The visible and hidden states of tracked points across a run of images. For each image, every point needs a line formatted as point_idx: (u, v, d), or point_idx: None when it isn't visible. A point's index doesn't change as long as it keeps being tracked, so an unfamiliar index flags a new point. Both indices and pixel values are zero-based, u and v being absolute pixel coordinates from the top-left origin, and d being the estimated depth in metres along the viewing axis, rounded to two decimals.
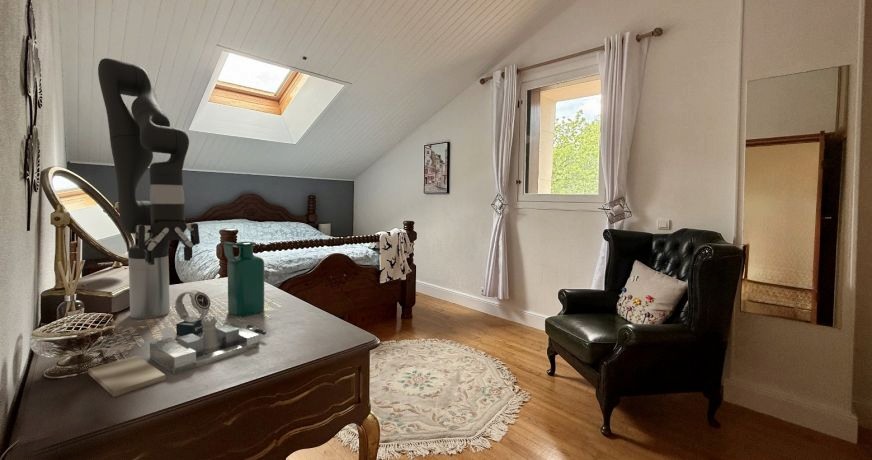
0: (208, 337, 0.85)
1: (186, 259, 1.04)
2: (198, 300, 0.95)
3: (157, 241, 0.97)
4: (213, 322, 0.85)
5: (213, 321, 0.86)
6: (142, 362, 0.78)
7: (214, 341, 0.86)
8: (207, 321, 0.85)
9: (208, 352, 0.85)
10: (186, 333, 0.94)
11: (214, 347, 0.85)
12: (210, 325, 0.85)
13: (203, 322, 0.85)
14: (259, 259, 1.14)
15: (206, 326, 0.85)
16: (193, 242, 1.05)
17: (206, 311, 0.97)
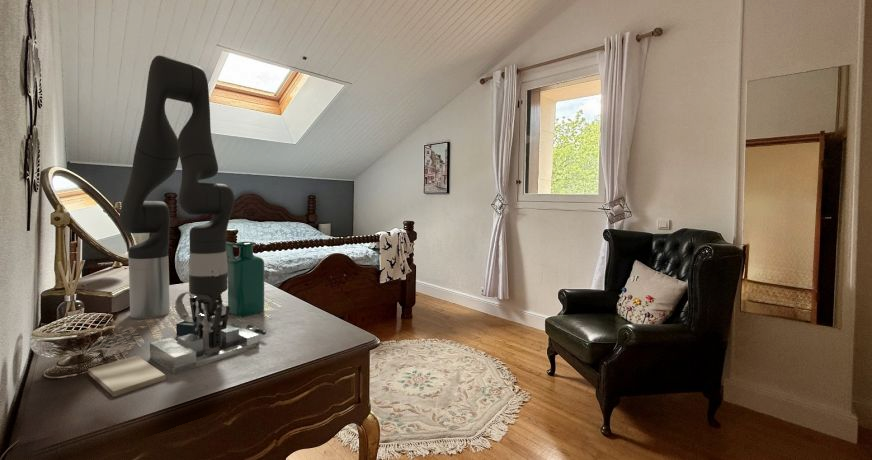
0: (208, 337, 0.85)
1: None
2: None
3: None
4: (213, 322, 0.85)
5: (213, 321, 0.86)
6: (142, 362, 0.78)
7: None
8: None
9: (208, 352, 0.85)
10: (186, 333, 0.94)
11: None
12: None
13: (203, 322, 0.85)
14: (259, 259, 1.14)
15: (206, 326, 0.85)
16: None
17: None
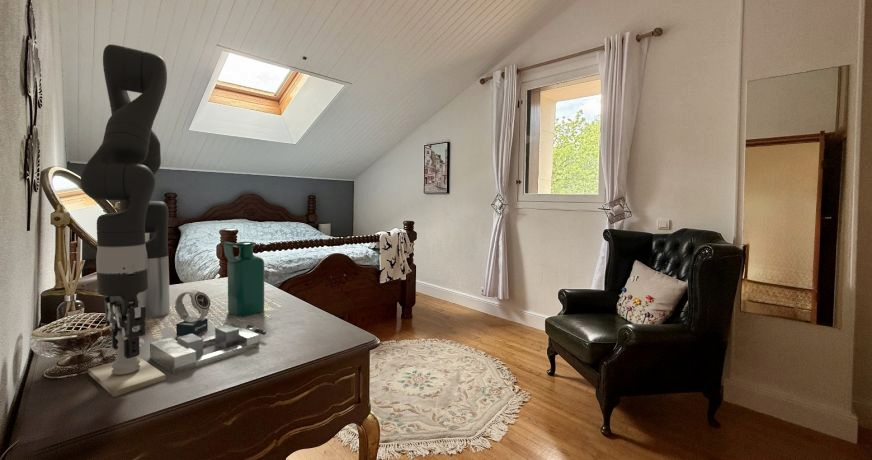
0: None
1: None
2: (198, 300, 0.95)
3: None
4: None
5: None
6: (142, 362, 0.78)
7: (131, 358, 0.73)
8: (122, 335, 0.72)
9: (122, 372, 0.72)
10: (186, 333, 0.94)
11: (130, 366, 0.73)
12: None
13: (117, 336, 0.72)
14: (259, 259, 1.14)
15: (121, 341, 0.72)
16: None
17: (206, 311, 0.97)
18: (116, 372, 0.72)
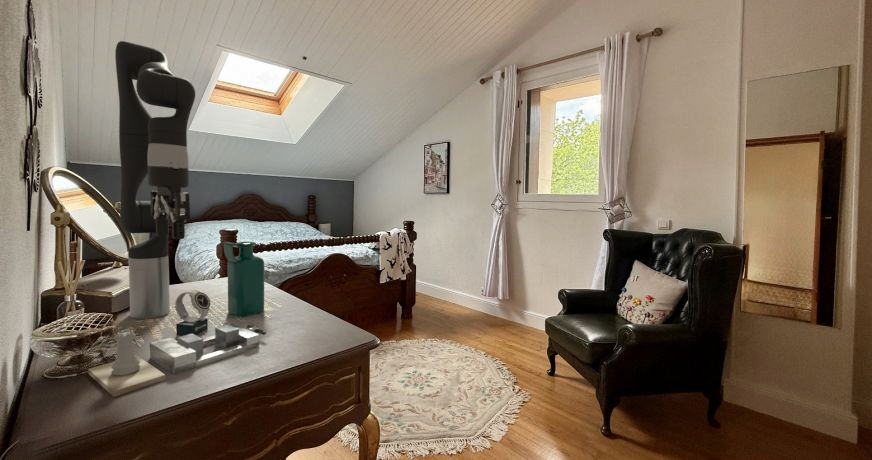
0: (123, 355, 0.72)
1: (165, 234, 0.89)
2: (198, 300, 0.95)
3: None
4: (129, 337, 0.73)
5: (129, 336, 0.73)
6: (142, 362, 0.78)
7: (130, 359, 0.73)
8: (121, 336, 0.72)
9: (122, 373, 0.72)
10: (186, 333, 0.94)
11: (130, 366, 0.73)
12: (125, 341, 0.72)
13: (116, 337, 0.72)
14: (259, 259, 1.14)
15: (120, 342, 0.72)
16: None
17: (206, 311, 0.97)
18: (116, 373, 0.72)
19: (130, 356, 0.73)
